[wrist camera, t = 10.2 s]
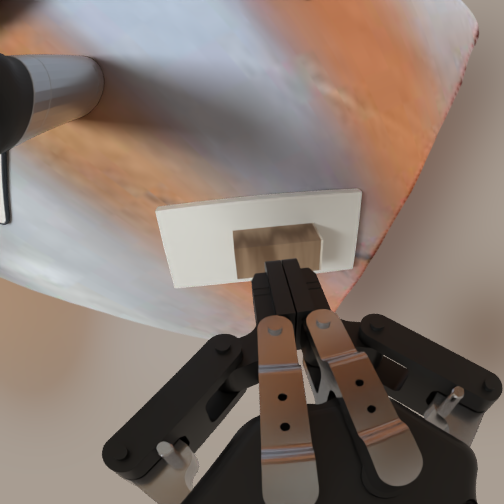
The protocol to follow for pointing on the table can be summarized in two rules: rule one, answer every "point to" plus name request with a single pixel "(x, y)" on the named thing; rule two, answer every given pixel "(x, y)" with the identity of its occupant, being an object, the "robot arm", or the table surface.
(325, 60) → the table surface
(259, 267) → the walnut block
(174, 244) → the white board
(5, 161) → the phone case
